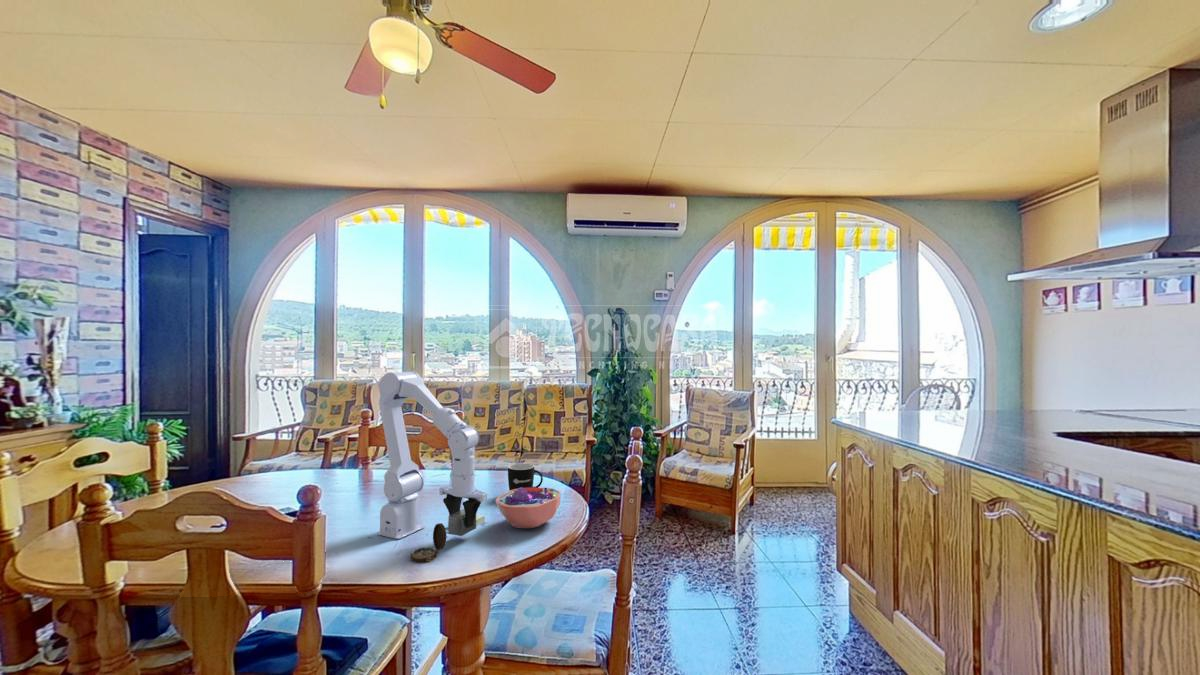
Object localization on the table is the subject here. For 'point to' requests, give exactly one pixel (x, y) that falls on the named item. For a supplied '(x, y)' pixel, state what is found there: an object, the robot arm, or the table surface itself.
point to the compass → (431, 553)
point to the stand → (479, 519)
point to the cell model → (529, 506)
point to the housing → (459, 524)
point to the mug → (522, 476)
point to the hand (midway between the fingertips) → (462, 524)
